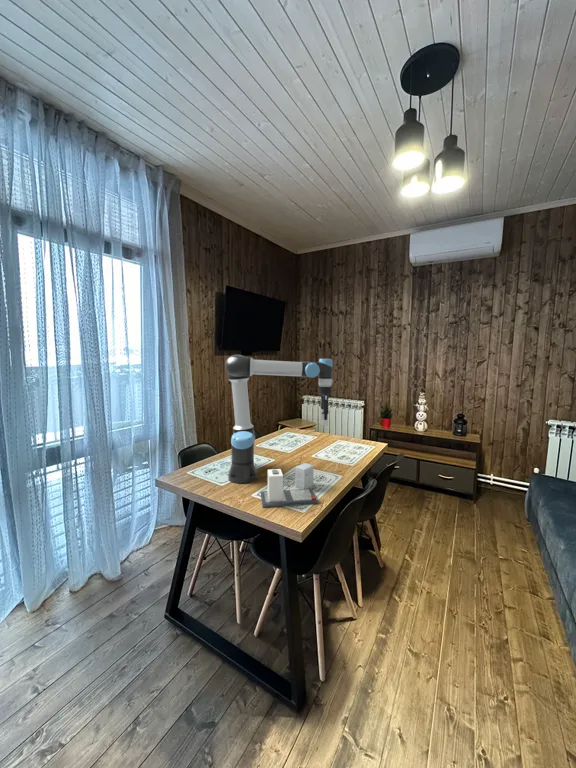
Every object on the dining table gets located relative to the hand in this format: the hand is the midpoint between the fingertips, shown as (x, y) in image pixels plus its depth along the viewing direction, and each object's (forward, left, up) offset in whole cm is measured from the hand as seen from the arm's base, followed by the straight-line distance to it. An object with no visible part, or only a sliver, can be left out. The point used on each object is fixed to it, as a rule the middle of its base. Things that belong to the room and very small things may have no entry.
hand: (324, 422), depth 176 cm
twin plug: (-32, -37, -24) cm, 55 cm away
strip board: (-26, -37, -26) cm, 52 cm away
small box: (-16, -25, -26) cm, 40 cm away
